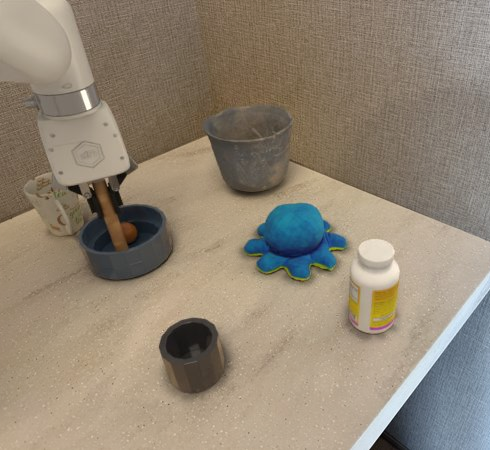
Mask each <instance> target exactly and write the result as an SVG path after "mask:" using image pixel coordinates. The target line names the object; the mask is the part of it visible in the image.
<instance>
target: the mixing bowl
mask: <svg viewBox="0 0 490 450" xmlns="http://www.w3.org/2000/svg"><path fill="white" fill-rule="evenodd" d="M119 208H120V211H121V214H117V216H118V219H119V221H120V223H123V222H129V223H131V224H133V225H134V226H135V227H136V229H137V233H138V234H137V238H136V239H135V241H134V242H132V243H130V244H127V245H128V248H129V249H127V250H124V251H116V250H115V247H114V245H113V242H112V239H111V236H110V234H109V231H108V228H107V225H106V222H105V220H104V218H103V219H100V220H99V217H98V215H97V214H96V215H95V216H94V217H93V216H92V218H91V219H89V220H88V221H86V223H84V225H83V227H82V228H81V229H80V230H79V233H78V235H77V241H78V245H79V247H80V250H81V252H82V255H83V256H84V259H85V261H86V264H87V266H88V269H89V270H90V271H91V272H92V273H93V274H94V275H95V276H97V277H100V278H103V279H105V280H118V281H120V280H127V279H133V278H136V277H139V276H143V275H145V274H147V273H150V272H151V271H153V270H154V269H156V268H158V267H160V265H162V264H163V263H164V262H165V261H166V260H167V259H168V257H169V256H170V254H171V253H172V251H173V239H172V235H171V230H170V228H169V224H168V220H167V217H166V215H165V213H164V212H163V211H162V210H161V209H160V208H159V207H157V206H153V205H149V204H147V203H146V204H145V203H144V204H143V203H133V204H125V205H124V204H123V205H122V206H119Z"/></svg>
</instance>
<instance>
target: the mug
mask: <svg viewBox="0 0 490 450" xmlns="http://www.w3.org/2000/svg"><path fill="white" fill-rule="evenodd" d="M51 177H52V171H51V172H47V173H42V174H40V175H37V176H36V177H34V178H32V179H30V180H29V181H28V182H26V184H25V185H24V186H23V193H24V194H25V196H26V198H27V199H28V200H29V202H30V203H31V205H32V206H33V208H34V210H35V211H36V212H37V214H38V215H39V217H40V218H41V220H42V221H43V223H44V224H45V226H46V227H47V229H48V230H49V231H50V233H51V234H52V235H53V236H56V237H66V236H72V235H74V234H75V233H77V232H78V231H80V230H81V228H82V227H83V226H84V225H85V220H84V214H83V210H82V208H81V202H80V197H79V194H76V193H74V192H72V191H70V190H55V189H52V187H51Z"/></svg>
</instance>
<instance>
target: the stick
mask: <svg viewBox="0 0 490 450" xmlns="http://www.w3.org/2000/svg"><path fill="white" fill-rule="evenodd" d="M90 182H91V187H92V188H93V190H94V192H95V194H96V197H97V199H98V202H99V205H100V208H101V211H102V213H103V216H104V220H105V222H106V225H107V228H108V231H109V234H110V236H111V239H112V242H113V245H114V247H115V250H116V251H124V250H127V249H129V248H128V245H127V242H126V239H125V236H124V233H123V230H122V227H121V224H120V221H119V219H118V216H117V214H116V211H115V208H114V205H113V202H112V199H111V197H110V194H109V189H108V182H107V181H106V178H102V179H98V180H94V181H90Z"/></svg>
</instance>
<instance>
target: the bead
mask: <svg viewBox="0 0 490 450" xmlns="http://www.w3.org/2000/svg"><path fill="white" fill-rule="evenodd" d="M120 224H121V227H122V230H123V233H124V236H125V239H126V242H127V244H130V243H132V242H134V241H135V239H136V238H137V234H138V233H137V229H136V227H135V226H134V225H133V224H131V223H129V222H123V223H120Z"/></svg>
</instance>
